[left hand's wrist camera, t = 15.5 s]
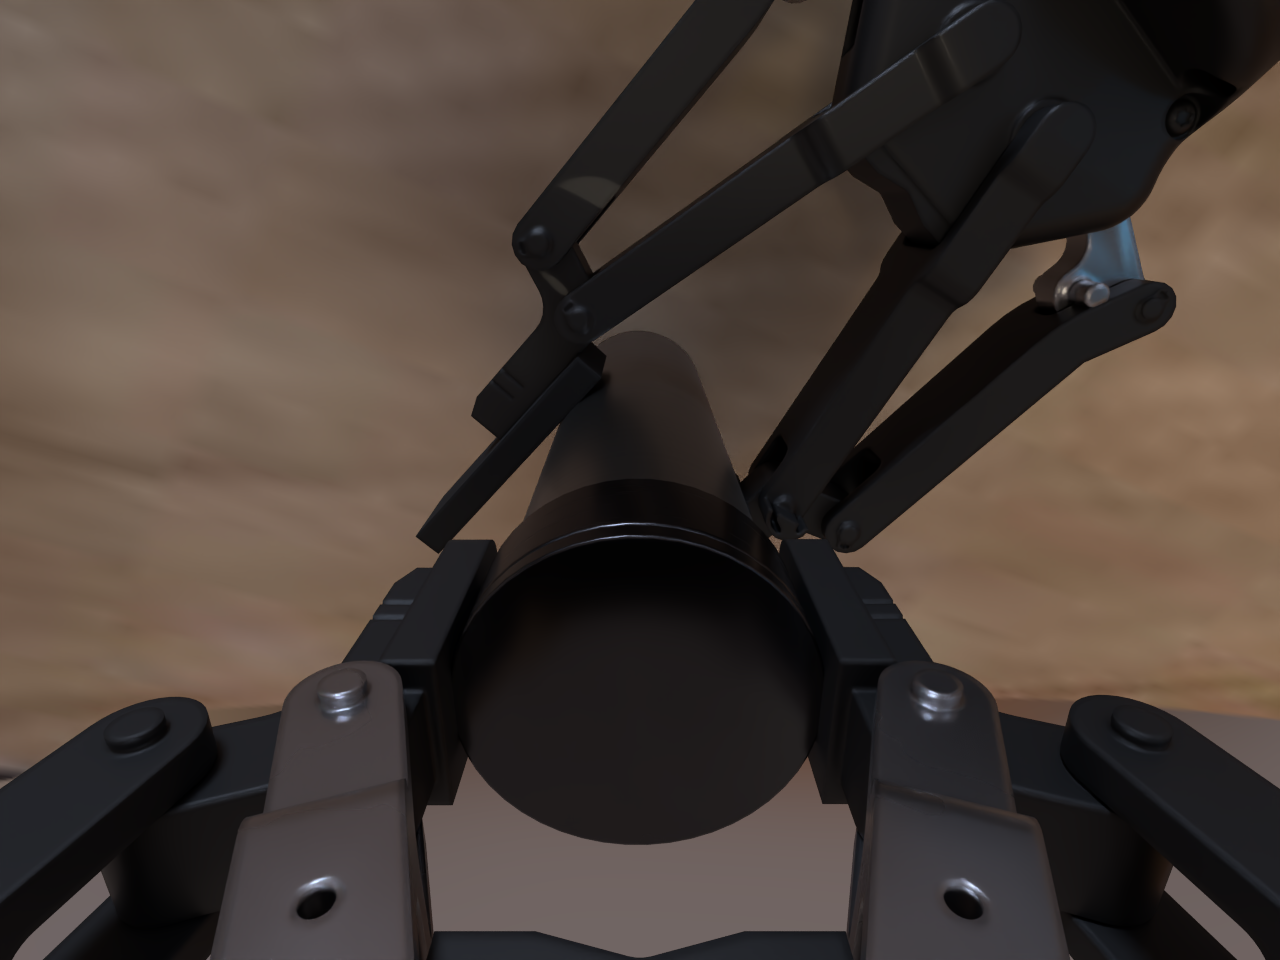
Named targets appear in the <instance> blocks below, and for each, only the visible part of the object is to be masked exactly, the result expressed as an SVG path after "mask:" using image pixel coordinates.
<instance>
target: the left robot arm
mask: <svg viewBox="0 0 1280 960" xmlns="http://www.w3.org/2000/svg"><path fill="white" fill-rule="evenodd" d="M496 554H497V549H496V545H495V542H494V540H449V541H448V542H447V544H446V546H445V547H444V549H443V551H442V552H441V554H440V556H439V558H438V559H437V561H436V563H435V564H434V566H433V568H416V569H415V570H413V571H412V572H410V573H409V574H407V575H406V576H404V577H403V578H401V579H400V580H398V581H397V582H396V583H394V585H393V586H392V588H391V589H390V591H389V592H388V594H387V595H386V597H385V598H384V600H383V604H382V605H380V606H379V607H378V609H377V610H376V612H375V613H374V615H373V620H370V621H369V622H368V624H367V625H366V627H365V628H364V630H363V632H362V633H361V635H360V636H359V638H358V639H357V641H356V642H355V644H354V645H353V647H352V648H351V650H350V651H349V653H348V654H347V656H346V657H345V659H344V660H343V662H342V663H341V664H337V665H333V666H330V667H327V668H325V669H322V670H320V671H318V672H316V673H314V674H312V675H310V676H308V677H307V678H305V679H304V680H302V681H301V682H300V683H299V684H297V685H296V686H295V687H294V688H293V689H292V690H291V691H290V693H289V694H288V695H287V697H286V699H285V701H284V704H283V707H282V711H279V712H277V713H273V714H270V715H266V716H262V717H258V718H253V719H248V720H243V721H239V722H234V723H229V724H224V725H220V726H215V727H212V726H211V723H210V719H209V715H208V712H207V710H206V707H205V706H204V705H203V704H202V703H200V702H198V701H197V700H194V699H190V698H185V697H166V698H158V699H153V700H148V701H144V702H141V703H137V704H134V705H131V706H129V707H126V708H123V709H121V710H119V711H116V712H114V713H112V714H110V715H108V716H106V717H104V718H103V719H101V720H99V721H98V722H96V723H94V724H93V725H91V726H90V727H88V728H87V729H86V730H84V731H83V732H81V733H80V734H78V735H77V736H75V737H74V738H73V739H71V740H70V741H68V742H67V743H65V744H64V745H63V746H61V747H60V748H58V749H57V750H55V751H54V752H52V753H51V754H50V755H48V756H47V757H45V758H44V759H42V760H41V761H40V762H38V763H37V764H35V765H34V766H32V767H31V768H30V769H28V770H27V771H25V772H24V773H22V774H21V775H19V776H18V777H17V778H15V779H14V780H12V781H11V782H9V783H8V784H7V785H5V786H4V787H2V788H1V789H0V960H12V959H13V957H14V955H15V954H16V952H17V951H18V949H19V948H20V946H21V945H22V944H23V943H24V942H25V940H26V939H27V938H28V937H29V936H30V935H31V934H32V933H33V932H34V931H35V930H36V929H37V928H38V927H39V926H41V925H42V924H43V923H44V922H45V921H46V920H47V919H48V918H49V917H50V916H52V915H53V914H54V913H55V912H56V911H57V910H58V909H59V908H60V907H62V905H64V904H65V903H66V902H67V901H68V900H69V899H70V898H71V897H73V896H74V895H75V894H76V893H77V892H78V891H79V890H80V889H81V888H82V887H84V886H85V885H86V884H87V883H88V882H89V881H90V880H91V879H92V878H93V877H95V876H96V875H97V874H98V873H99V872H100V871H101V872H102V875H103V877H104V880H105V883H106V885H107V888H108V891H109V893H110V896H109V897H108V898H107V899H106V900H105V901H104V902H103V903H102V904H101V905H100V906H99V907H98V908H97V909H96V910H95V911H94V912H93V913H91V914H90V915H89V916H88V917H87V918H86V919H85V920H84V921H83V922H82V923H81V924H80V925H79V926H78V927H77V928H76V929H75V930H74V931H73V932H72V933H70V934H69V935H68V936H67V937H66V938H65V939H64V940H63V941H62V942H61V943H60V944H59V945H58V946H57V947H56V948H55V949H54V950H53V951H52V952H51V953H49V954H48V955H47V956H46V957H45V958H44V959H43V960H206V959H207V958H208V957H209V956H210V954H211V957H210V960H1070V957H1069V954H1070V956H1071V957H1072V958H1073V959H1074V960H1237V959H1236V958H1235V957H1234V956H1233V955H1232V954H1231V953H1229V952H1228V951H1227V950H1226V949H1225V948H1224V947H1223V946H1222V945H1221V944H1220V943H1219V942H1218V941H1217V940H1216V939H1215V938H1214V937H1213V936H1212V935H1211V934H1210V933H1208V932H1207V931H1206V930H1205V929H1204V928H1203V927H1202V926H1201V925H1200V924H1199V923H1198V922H1197V921H1196V920H1195V919H1194V918H1193V917H1192V916H1191V915H1190V914H1188V912H1186V911H1185V910H1184V909H1183V908H1182V907H1181V906H1180V905H1179V904H1178V903H1177V902H1176V901H1175V900H1174V899H1173V898H1172V897H1171V896H1170V895H1169V894H1168V893H1167V892H1165V891H1164V889H1165V886H1166V883H1167V881H1168V878H1169V875H1170V873H1171V870H1172V867H1173V866H1174V867H1175V868H1177V869H1178V870H1179V871H1180V872H1181V873H1182V874H1183V875H1184V876H1185V877H1186V878H1188V879H1189V880H1190V881H1191V882H1192V883H1193V884H1194V885H1195V886H1196V887H1198V888H1199V889H1200V890H1201V891H1202V892H1203V893H1204V894H1205V895H1206V896H1208V897H1209V898H1210V899H1211V900H1212V901H1213V902H1214V903H1215V904H1216V905H1217V906H1218V907H1220V908H1221V909H1222V910H1223V911H1224V912H1225V913H1226V914H1227V915H1228V916H1230V917H1231V918H1232V919H1233V920H1234V921H1235V922H1236V923H1237V924H1238V925H1239V926H1241V927H1242V928H1243V929H1244V930H1245V931H1246V932H1247V933H1248V934H1249V936H1250V937H1251V938H1252V939H1253V940H1254V942H1255V943H1256V945H1257V946H1258V947H1259V949H1260V950H1261V952H1262V954H1263V956H1264V957H1265V960H1280V789H1279V788H1278V787H1276V786H1275V785H1273V784H1272V783H1271V782H1269V781H1268V780H1266V779H1265V778H1263V777H1262V776H1260V775H1259V774H1258V773H1256V772H1255V771H1253V770H1252V769H1250V768H1249V767H1248V766H1246V765H1245V764H1243V763H1242V762H1240V761H1239V760H1238V759H1236V758H1235V757H1233V756H1232V755H1230V754H1229V753H1227V752H1226V751H1225V750H1223V749H1222V748H1220V747H1219V746H1217V745H1216V744H1215V743H1213V742H1212V741H1210V740H1209V739H1207V738H1206V737H1204V736H1203V735H1202V734H1200V733H1199V732H1197V731H1196V730H1194V729H1193V728H1192V727H1190V726H1189V725H1187V724H1186V723H1184V722H1183V721H1181V720H1180V719H1178V718H1176V717H1175V716H1173V715H1171V714H1169V713H1167V712H1165V711H1163V710H1161V709H1158V708H1156V707H1154V706H1151V705H1149V704H1146V703H1143V702H1140V701H1136V700H1133V699H1129V698H1124V697H1119V696H1111V695H1093V696H1087V697H1084V698H1081V699H1079V700H1077V701H1076V702H1075V703H1074V704H1073V705H1072V706H1071V708H1070V711H1069V715H1068V718H1067V722H1066V726H1060V725H1056V724H1051V723H1046V722H1041V721H1036V720H1032V719H1027V718H1022V717H1017V716H1013V715H1009V714H1005V713H1001V712H998V707H997V704H996V701H995V699H994V697H993V695H992V694H991V693H990V691H989V690H988V689H987V688H986V687H985V686H984V685H983V684H981V683H980V682H979V681H978V680H976V679H975V678H973V677H972V676H970V675H968V674H966V673H964V672H962V671H960V670H958V669H955V668H953V667H950V666H947V665H943V664H939V663H935V662H933V661H932V659H931V658H930V656H929V655H928V653H927V652H926V650H925V649H924V647H923V646H922V644H921V642H920V641H919V639H918V638H917V636H916V635H915V633H914V632H913V630H912V629H911V627H910V626H909V624H908V623H907V621H906V620H905V619H903V615H902V613H901V612H900V610H899V609H898V607H897V606H896V604H893V600H892V598H891V597H890V595H889V593H888V592H887V590H886V589H885V587H884V586H883V584H882V583H881V582H880V581H878V580H877V579H875V578H874V577H873V576H871V575H870V574H868V573H867V572H865V571H864V570H862V569H861V568H859V567H843V566H842V564H841V562H840V561H839V559H838V557H837V555H836V554H835V552H834V550H833V548H832V547H831V545H830V543H829V542H828V540H826V539H783V540H782V542H781V545H780V551H779V555H780V556H781V558H782V560H783V562H784V564H785V566H786V568H787V571H788V573H789V575H790V578H791V580H792V583H793V585H794V587H795V590H796V592H797V595H798V597H799V599H800V602H801V604H802V607H803V609H804V611H805V614H806V616H807V619H808V621H809V623H810V626H811V628H812V631H813V633H814V636H815V638H816V641H817V644H818V646H819V649H820V652H821V655H822V660H823V665H824V682H823V691H822V700H821V709H820V717H819V726H818V733H817V738H816V740H815V742H814V745H813V747H812V749H811V751H810V753H809V755H808V758H809V761H810V765H811V768H812V771H813V774H814V778H815V781H816V784H817V787H818V790H819V794H820V797H821V800H822V804H848V805H849V808H850V811H851V814H852V817H853V819H854V822H855V825H856V834H855V841H854V851H853V863H852V875H851V886H850V898H849V910H848V922H847V933H846V932H845V931H744V932H740V933H737V934H733V935H729V936H725V937H722V938H718V939H714V940H711V941H707V942H703V943H700V944H696V945H692V946H689V947H685V948H681V949H677V950H673V951H670V952H666V953H662V954H659V955H655V956H651V957H645V958H634V957H629V956H625V955H621V954H618V953H614V952H610V951H607V950H603V949H599V948H595V947H592V946H588V945H584V944H580V943H577V942H573V941H569V940H565V939H562V938H558V937H554V936H551V935H547V934H543V933H540V932H536V931H435V932H434V934H433V922H432V910H431V899H430V887H429V875H428V863H427V852H426V842H425V835H424V828H423V821H422V817H423V814H424V812H425V809H426V806H427V805H453V802H454V799H455V796H456V793H457V789H458V786H459V783H460V780H461V777H462V774H463V771H464V768H465V764H466V761H467V758H468V756H467V754H466V753H465V751H464V748H463V746H462V744H461V741H460V739H459V736H458V730H457V722H456V713H455V705H454V696H453V687H452V677H451V667H452V662H453V658H454V653H455V650H456V647H457V645H458V642H459V640H460V637H461V634H462V632H463V629H464V627H465V625H466V622H467V620H468V618H469V615H470V613H471V611H472V608H473V606H474V603H475V601H476V599H477V596H478V594H479V592H480V589H481V587H482V584H483V582H484V580H485V577H486V575H487V573H488V570H489V568H490V565H491V563H492V561H493V559H494V558H495V556H496Z"/></svg>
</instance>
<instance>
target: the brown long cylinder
mask: <svg viewBox="0 0 1280 960" xmlns="http://www.w3.org/2000/svg"><path fill="white" fill-rule="evenodd" d="M597 348H599V349H600V350H601V351H602V352H603V353H604V354H605V355H606V356H607V357H606V361H605V364H604V368H603V372H602V376H601V379H600V380H599V381H598V382H597V383H596V384H595V385H594V387H593V388H592V389H591V390H590V391H589V392H588V393H587V394H586V395H585V396H584V397H583V398H582V399H581V401H580V402H579V403H578V404H577V405H576V406H575V407H574V408H573V409H572V410H571V411H570V412H569V414H568V415H567V416H566V417H565V418H564V419H563V420H562V421H561V422H560V425H559V427H558V430H557V433H556V435H555V438H554V441H553V443H552V446H551V449H550V451H549V454H548V457H547V459H546V462H545V465H544V467H543V470H542V473H541V475H540V478H539V481H538V483H537V486H536V489H535V491H534V494H533V497H532V499H531V502H530V505H529V507H528V510H527V513H526V515H525V518H524V520H525V519H526V518H527V517H528V516H530V515H531V514H532V513H534V512H535V511H536V510H538V509H539V508H541V507H542V506H543V505H545V504H547V503H548V502H550V501H552V500H554V499H556V498H558V497H560V496H562V495H563V494H566V493H568V492H571V491H574V490H576V489H579V488H582V487H584V486H588V485H592V484H596V483H601V482H605V481H612V480H621V479H656V480H663V481H671V482H676V483H679V484H683V485H687V486H691V487H695V488H697V489H700V490H702V491H705V492H707V493H710V494H712V495H715V496H716V497H718V498H720V499H722V500H724V501H725V502H727V503H729V504H731V505H733V506H734V507H735V508H737V509H738V510H739V511H741V512H742V513H743V514H745V515H746V516H747V517H749V518H750V519H751V520H752V518H751V515H750V513H749V510H748V507H747V504H746V502H745V499H744V496H743V494H742V491H741V488H740V486H739V483H738V480H737V478H736V475H735V472H734V470H733V467H732V464H731V461H730V459H729V456H728V453H727V451H726V448H725V445H724V443H723V440H722V437H721V435H720V432H719V429H718V426H717V424H716V421H715V418H714V416H713V413H712V410H711V408H710V405H709V402H708V400H707V397H706V394H705V391H704V389H703V386H702V383H701V381H700V378H699V375H698V373H697V370H696V368H695V366H694V364H693V362H692V360H691V359H690V357H689V356H688V355H687V353H686V352H685V351H684V350H683V349H682V348H681V347H680V346H679V345H677V344H676V343H675V342H673V341H671V340H670V339H668V338H666V337H664V336H661V335H659V334H655V333H652V332H645V331H631V332H625V333H621V334H617V335H615V336H613V337H610V338H608V339H607V340H605V341H603V342H602V343H600V344H599V345H598V346H597Z"/></svg>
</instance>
